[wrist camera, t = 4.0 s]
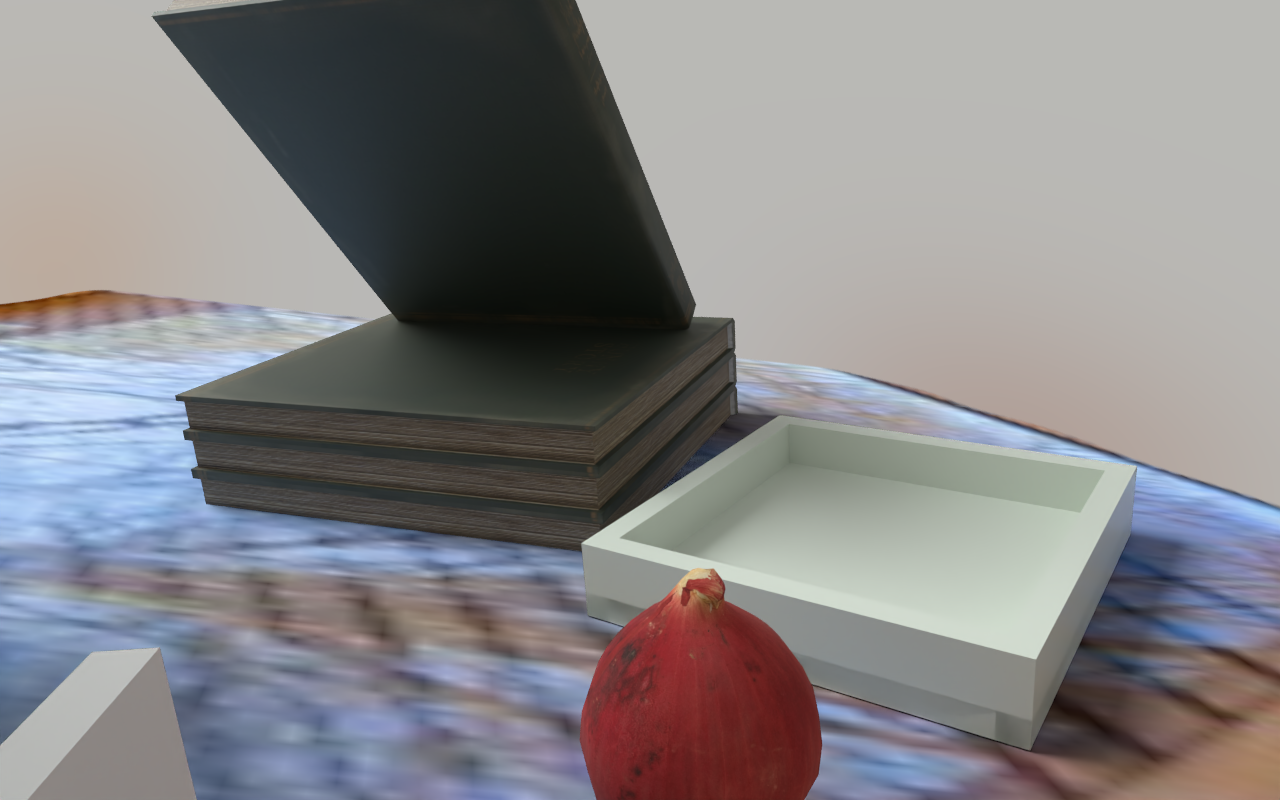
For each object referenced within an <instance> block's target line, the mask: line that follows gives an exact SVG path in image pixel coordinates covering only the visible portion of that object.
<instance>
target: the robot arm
mask: <svg viewBox="0 0 1280 800" xmlns="http://www.w3.org/2000/svg"><path fill="white" fill-rule="evenodd" d="M0 800H197V799H196V795H195V791H194V787H193V782H192V778H191V774H190V770H189V766H188V762H187V758H186V754H185V749H184V745H183V741H182V737H181V733H180V729H179V725H178V721H177V716H176V712H175V708H174V704H173V700H172V696H171V692H170V688H169V684H168V679H167V675H166V671H165V667H164V663H163V659H162V655H161V651H160V647H159V648H145V649H130V650H115V651H101V652H92V653H91V654H90V655H89V656H88V657H87V658H86V659H85V660H84V661H83V662H82V663H81V664H80V665H79V666H78V667H77V668H76V669H75V670H74V671H73V672H72V673H71V674H70V675H69V676H68V677H67V678H66V679H65V680H64V681H63V682H62V683H61V684H60V685H59V686H58V687H57V688H56V689H55V690H54V691H53V692H52V693H51V694H50V695H49V696H48V697H47V698H46V699H45V700H44V701H43V702H42V703H41V704H40V705H39V706H38V707H37V708H36V709H35V710H34V711H33V713H32V714H31V715H30V716H29V717H28V718H27V719H26V720H25V721H24V722H23V723H22V724H21V725H20V726H19V727H18V728H17V729H16V730H15V731H14V732H13V733H12V734H11V735H10V736H9V737H8V738H7V739H6V740H5V741H4V742H3V743H2V744H1V745H0Z"/></svg>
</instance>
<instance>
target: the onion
mask: <svg viewBox="0 0 1280 800" xmlns="http://www.w3.org/2000/svg"><path fill="white" fill-rule="evenodd" d="M724 593H725V584H724V582H723V581H722V579H721V577H720V576H719V575H718V573H717V572H716V571H715V569H714V568H712V569H702V568H696V569H692V570H691V571H690V572H689V573H688V574H686V575H685V576H684V577H683V578H682V579H681V580H680V581H679V582H678V584H677V585H676V586H675V587H674V588H673V589H672V590H671V592H670V593H669V594H668V595H667V596H666V597H665V598H664V599H663V600H661V601H660V602H657V603H655V604H653V605H652V606H650V607H649V608H647V609H646V610H644V611H643V612H642V613H640V614H639V615H638V616H636V617H635V618H633V619H632V620H631V621H630V622H629V623H628V624H627V625H626V626H625V627H624V628H623V629H622V630H621V631H620V632H619V633H618V634H617V635H616V636H615V637H614V639H613V640H612V641H611V642H610V643H609V645H608V646H607V648H606V649H605V651H604V653H603V655H602V656H601V658H600V660H599V662H598V665H597V668H596V671H595V674H594V676H593V679H592V682H591V685H590V688H589V691H588V694H587V698H586V701H585V704H584V707H583V710H582V718H581V730H580V743H581V747H582V751H583V754H584V758H585V762H586V766H587V770H588V773H589V776H590V780H591V783H592V786H593V789H594V793H595V796H596V799H597V800H804V799H805V797H806V796H807V794H808V792H809V790H810V789H811V787H812V785H813V783H814V782H815V780H816V778H817V776H818V774H819V766H820V758H821V750H822V738H821V730H820V721H819V714H818V709H817V704H816V700H815V695H814V690H813V687H812V685H811V683H810V681H809V679H808V676H807V674H806V672H805V670H804V668H803V667H802V665H801V664H800V663H799V661H798V660H797V658H796V657H795V656H794V654H793V653H792V652H791V650H790V649H789V648H788V646H787V645H786V644H785V643H784V641H783V640H782V639H781V637H780V636H779V635H778V634H777V633H776V632H775V631H774V630H773V629H772V628H771V627H770V626H769V625H768V624H766V623H765V622H763V621H762V620H761V619H759V618H758V617H756V616H755V615H753V614H751V613H749V612H747V611H745V610H743V609H741V608H740V607H738V606H736V605H734V604H732V603H730V602H727V601H725V600H724Z"/></svg>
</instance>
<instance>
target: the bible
mask: <svg viewBox="0 0 1280 800" xmlns="http://www.w3.org/2000/svg"><path fill="white" fill-rule="evenodd" d="M152 17H153V19H154V20H155V21H156V22H157V23H158V25H159V26H160V27H161V28H162V30H163V31H164V32H165V33H166V35H167V36H168V37H169V38H170V39H171V41H172V42H173V43H174V44H175V46H176V47H177V48H178V49H179V50H180V52H181V53H182V54H183V56H184V57H185V58H186V59H187V61H188V62H189V63H190V64H191V65H192V67H193V68H194V69H195V70H196V72H197V73H198V74H199V75H200V77H201V78H202V79H203V80H204V82H205V83H206V84H207V85H208V87H210V89H211V90H212V92H213V93H214V94H215V95H216V96H217V98H218V99H219V100H220V101H221V103H222V104H223V105H224V106H225V107H226V109H227V110H228V111H229V113H230V114H231V115H232V116H233V117H234V119H235V120H236V121H237V122H238V124H239V125H240V126H241V127H242V129H243V130H244V131H245V132H246V133H247V135H248V136H249V137H250V138H251V140H252V141H253V142H254V143H255V144H256V146H257V147H258V148H259V150H260V151H261V152H262V153H263V155H264V156H265V157H266V158H267V160H268V161H269V162H270V163H271V164H272V166H273V167H274V168H275V169H276V170H277V172H278V173H279V174H280V176H281V177H282V178H283V179H284V181H285V182H286V183H287V184H288V185H289V187H290V188H291V189H292V190H293V192H294V193H295V194H296V195H297V197H298V198H299V199H300V200H301V202H302V203H303V204H304V205H305V206H306V208H307V209H308V210H309V211H310V213H311V214H312V215H313V216H314V218H315V219H316V220H317V221H318V222H319V224H320V225H321V226H322V228H323V229H324V230H325V231H326V232H327V233H328V235H329V236H330V237H331V239H332V240H333V241H334V242H335V244H336V245H337V246H338V247H339V248H340V250H341V251H342V252H343V253H344V255H345V256H346V257H347V258H348V260H349V261H350V262H351V263H352V265H353V266H354V267H355V268H356V270H357V271H358V272H359V273H360V274H361V276H362V277H363V278H364V279H365V281H366V282H367V283H368V284H369V286H370V287H371V288H372V289H373V290H374V292H375V293H376V294H377V296H378V297H379V298H380V299H381V300H382V302H383V303H384V304H385V305H386V307H387V308H388V309H389V310H390V311H391V313H392V314H389V315H387V316H384V317H381V318H378V319H376V320H373V321H371V322H368V323H365V324H363V325H360V326H357V327H355V328H352V329H349V330H347V331H344V332H342V333H339V334H336V335H334V336H331V337H328V338H326V339H323V340H320V341H318V342H315V343H313V344H310V345H307V346H305V347H302V348H299V349H297V350H294V351H291V352H289V353H286V354H284V355H281V356H278V357H276V358H273V359H270V360H268V361H265V362H262V363H260V364H257V365H254V366H252V367H249V368H247V369H244V370H241V371H239V372H236V373H233V374H231V375H228V376H225V377H223V378H220V379H218V380H215V381H212V382H210V383H207V384H204V385H202V386H199V387H196V388H194V389H191V390H189V391H186V392H183V393H181V394H178V395H175V397H176V401H184V402H185V407H186V412H187V416H188V421H189V426H190V428H188V429H186V430H184V431H183V434H184V438H185V440H191V441H193V444H194V449H195V454H196V459H197V463H198V466H197V467H195V468H193V469H191V471H192V475H193V478H197V479H201V482H202V487H203V491H204V496H205V501H206V504H210V505H218V506H226V507H234V508H242V509H250V510H258V511H266V512H274V513H282V514H290V515H298V516H306V517H314V518H322V519H330V520H338V521H346V522H354V523H362V524H370V525H378V526H386V527H394V528H402V529H410V530H418V531H426V532H434V533H442V534H450V535H457V536H465V537H473V538H481V539H489V540H497V541H505V542H513V543H521V544H529V545H537V546H545V547H553V548H561V549H569V550H577V551H582V545H581V543H583V542H584V541H586V540H587V539H589V538H590V537H592V536H593V535H595V534H596V533H598V532H600V531H601V530H603V529H604V528H606V527H607V526H609V525H610V524H612V523H613V522H615V521H617V520H618V519H620V518H621V517H623V516H624V515H626V514H627V513H629V512H631V511H632V510H634V509H635V508H637V507H638V506H640V505H641V504H643V503H644V502H646V501H648V500H649V499H651V498H652V497H654V496H655V495H657V494H658V493H659V492H660V491H661V490H662V489H663V488H664V486H665V485H666V484H667V483H668V482H669V481H670V480H671V479H672V478H673V477H674V476H675V475H676V473H677V472H678V471H679V470H680V469H681V468H682V467H683V466H684V465H685V464H686V463H687V462H688V461H689V459H690V458H691V457H692V456H693V455H694V454H695V453H696V452H697V451H698V450H699V449H700V448H701V447H702V445H703V444H704V443H705V442H706V441H707V440H708V439H709V438H710V437H711V436H712V435H713V434H714V433H715V431H716V430H717V429H718V428H719V427H720V426H721V425H722V424H723V423H724V422H725V421H726V420H727V418H728V417H729V416H730V415H734V414H737V413H738V407H737V388H736V387H735V385H736V381H737V379H736V355H735V353H734V351H735V321H734V319H733V318H711V317H709V318H708V317H693V314H694V310H695V306H696V304H695V301H694V299H693V296H692V294H691V291H690V288H689V286H688V283H687V281H686V279H685V276H684V273H683V271H682V268H681V266H680V263H679V261H678V258H677V256H676V253H675V251H674V248H673V245H672V243H671V241H670V238H669V235H668V233H667V230H666V228H665V225H664V223H663V220H662V218H661V215H660V213H659V210H658V208H657V205H656V203H655V200H654V198H653V195H652V193H651V190H650V188H649V185H648V182H647V180H646V177H645V175H644V173H643V170H642V167H641V165H640V162H639V160H638V157H637V155H636V152H635V150H634V147H633V144H632V142H631V139H630V137H629V134H628V132H627V129H626V127H625V124H624V122H623V119H622V117H621V114H620V112H619V109H618V107H617V104H616V102H615V99H614V97H613V94H612V91H611V89H610V86H609V84H608V81H607V79H606V76H605V74H604V71H603V69H602V66H601V64H600V61H599V59H598V56H597V54H596V51H595V49H594V46H593V44H592V41H591V38H590V36H589V34H588V31H587V29H586V26H585V23H584V21H583V18H582V16H581V13H580V11H579V8H578V6H577V3H576V1H575V0H174V1H173V2H172V4H171V5H170V7H169V8H168V9H167V11H160V12H154V13H153V15H152Z"/></svg>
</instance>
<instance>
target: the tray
mask: <svg viewBox="0 0 1280 800" xmlns="http://www.w3.org/2000/svg"><path fill="white" fill-rule="evenodd" d="M1136 472H1137V466H1132V465H1125V464H1118V463H1111V462H1104V461H1097V460H1090V459H1083V458H1076V457H1069V456H1062V455H1055V454H1048V453H1041V452H1034V451H1027V450H1020V449H1013V448H1006V447H999V446H992V445H985V444H978V443H971V442H964V441H957V440H950V439H943V438H936V437H929V436H922V435H915V434H908V433H901V432H894V431H887V430H880V429H873V428H866V427H859V426H852V425H845V424H838V423H831V422H824V421H817V420H810V419H803V418H796V417H789V416H782V415H779V416H778V417H776V418H775V419H773V420H771V421H770V422H768V423H767V424H765V425H764V426H762V427H761V428H759V429H757V430H756V431H754V432H753V433H751V434H750V435H748V436H747V437H745V438H744V439H742V440H740V441H739V442H737V443H736V444H734V445H733V446H731V447H730V448H728V449H727V450H725V451H723V452H722V453H720V454H719V455H717V456H716V457H714V458H713V459H711V460H709V461H708V462H706V463H705V464H703V465H702V466H700V467H699V468H697V469H696V470H694V471H692V472H691V473H689V474H688V475H686V476H685V477H683V478H682V479H680V480H679V481H677V482H675V483H674V484H672V485H671V486H669V487H668V488H666V489H665V490H663V491H661V492H660V493H658V494H657V495H655V496H654V497H652V498H651V499H649V500H648V501H646V502H644V503H643V504H641V505H640V506H638V507H637V508H635V509H634V510H632V511H631V512H629V513H627V514H626V515H624V516H623V517H621V518H620V519H618V520H617V521H615V522H613V523H612V524H610V525H609V526H607V527H606V528H604V529H603V530H601V531H600V532H598V533H596V534H595V535H593V536H592V537H590V538H589V539H587V540H586V541H584V542H583V543H581V545H582V556H583V567H584V578H585V589H586V600H587V611H588V616H591V617H595V618H598V619H601V620H604V621H608V622H611V623H614V624H617V625H621V626H624V627H625V626H626V625H627V624H628V623H629V622H630V621H631V620H632V619H633V618H635V617H636V616H638V615H639V614H640V613H642V612H643V611H644V610H646V609H647V608H649V607H650V606H652V605H653V604H655V603H657V602H660V601H661V600H663V599H664V598H665V597H666V596H667V595H668V594H669V593H670V592H671V590H672V589H673V588H674V587H675V586H676V585H677V584H678V582H679V581H680V580H681V579H682V578H683V577H684V576H685V575H686V574H688V573H689V572H690V571H691V570H692V569H696V568H702V569H712V568H714V569H715V571H716V572H717V573H718V575H719V576H720V577H721V579H722V581H723V582H724V584H725V593H724V600H725V601H727V602H730V603H732V604H734V605H736V606H738V607H740V608H741V609H743V610H745V611H747V612H749V613H751V614H753V615H755V616H756V617H758V618H759V619H761V620H762V621H763V622H765V623H766V624H768V625H769V626H770V627H771V628H772V629H773V630H774V631H775V632H776V633H777V634H778V635H779V636H780V637H781V639H782V640H783V641H784V643H785V644H786V645H787V646H788V648H789V649H790V650H791V652H792V653H793V654H794V656H795V657H796V658H797V660H798V661H799V663H800V664H801V665H802V667H803V668H804V670H805V672H806V674H807V676H808V679H809V681H810V683H811V684H813V685H817V686H820V687H823V688H826V689H830V690H833V691H836V692H840V693H843V694H846V695H849V696H853V697H856V698H859V699H862V700H866V701H869V702H872V703H875V704H879V705H882V706H885V707H889V708H892V709H895V710H898V711H902V712H905V713H908V714H911V715H915V716H918V717H921V718H924V719H928V720H931V721H934V722H938V723H941V724H944V725H947V726H951V727H954V728H957V729H960V730H964V731H967V732H970V733H973V734H977V735H980V736H983V737H987V738H990V739H993V740H996V741H1000V742H1003V743H1006V744H1009V745H1013V746H1016V747H1019V748H1022V749H1026V750H1029V751H1030V750H1031V748H1032V746H1033V743H1034V741H1035V739H1036V737H1037V735H1038V733H1039V731H1040V728H1041V726H1042V724H1043V722H1044V720H1045V718H1046V715H1047V713H1048V711H1049V709H1050V707H1051V705H1052V703H1053V700H1054V698H1055V696H1056V694H1057V692H1058V690H1059V687H1060V685H1061V683H1062V681H1063V679H1064V677H1065V674H1066V672H1067V670H1068V668H1069V666H1070V664H1071V662H1072V659H1073V657H1074V655H1075V653H1076V651H1077V649H1078V646H1079V644H1080V642H1081V640H1082V638H1083V636H1084V634H1085V631H1086V629H1087V627H1088V625H1089V623H1090V621H1091V618H1092V616H1093V614H1094V612H1095V610H1096V608H1097V606H1098V603H1099V601H1100V599H1101V597H1102V595H1103V593H1104V590H1105V588H1106V586H1107V584H1108V582H1109V580H1110V577H1111V575H1112V573H1113V571H1114V569H1115V567H1116V565H1117V562H1118V560H1119V558H1120V556H1121V554H1122V552H1123V549H1124V547H1125V545H1126V543H1127V541H1128V539H1129V537H1130V534H1131V525H1132V515H1133V504H1134V493H1135V483H1136Z"/></svg>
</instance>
